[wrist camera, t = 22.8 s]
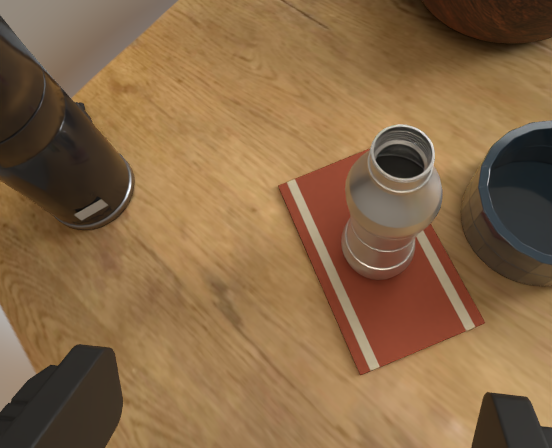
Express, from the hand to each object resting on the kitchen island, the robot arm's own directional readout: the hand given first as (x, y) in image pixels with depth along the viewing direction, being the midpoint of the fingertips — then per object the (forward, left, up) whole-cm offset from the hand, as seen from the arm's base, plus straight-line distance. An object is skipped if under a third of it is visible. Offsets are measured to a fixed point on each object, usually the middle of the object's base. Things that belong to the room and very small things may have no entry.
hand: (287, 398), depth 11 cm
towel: (-11, +10, -35) cm, 38 cm away
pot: (-8, +25, -35) cm, 43 cm away
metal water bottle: (-11, +10, -35) cm, 37 cm away
